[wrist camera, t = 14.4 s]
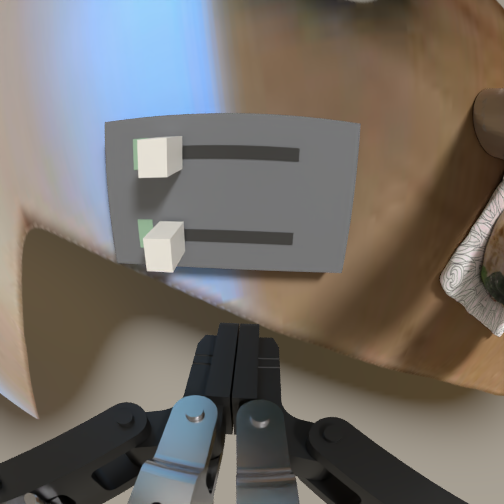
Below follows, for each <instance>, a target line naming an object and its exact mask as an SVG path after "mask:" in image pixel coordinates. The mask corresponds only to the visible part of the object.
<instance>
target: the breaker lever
mask: <svg viewBox="0 0 504 504" xmlns="http://www.w3.org/2000/svg"><path fill="white" fill-rule="evenodd" d="M137 154H138V178H156V177H169V176H170V175H172V174H174V173H176V172H178V171H179V170H181V169H182V136H171V137H156V138H147V139H140V140H137Z"/></svg>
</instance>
